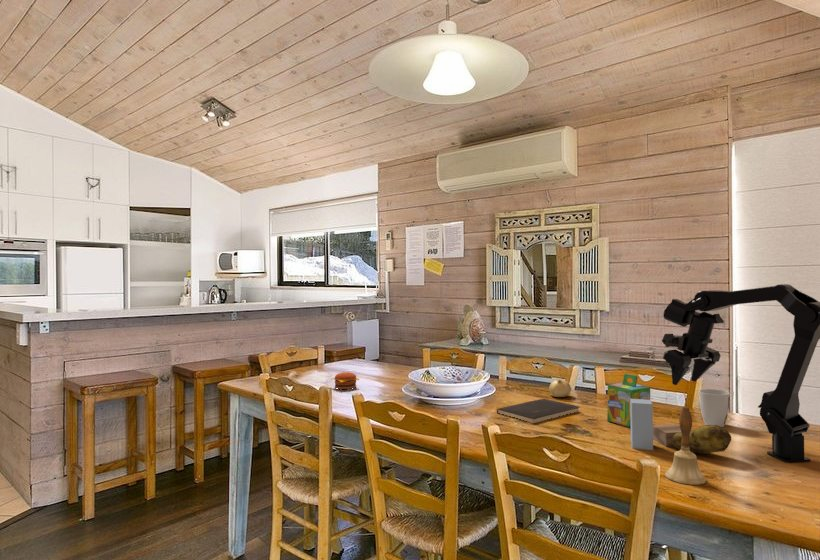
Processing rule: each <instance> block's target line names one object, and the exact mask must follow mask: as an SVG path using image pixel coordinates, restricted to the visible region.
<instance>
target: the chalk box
mask: <svg viewBox="0 0 820 560" xmlns="http://www.w3.org/2000/svg"><path fill="white" fill-rule="evenodd" d="M628 379H631V380H632V382H628ZM637 380H638V375H634V374H629V373H624V374H623V378H622V382H620V383H619V382H618V383H612V384H607V408H606V409H607V410H606V412H607V415H606V416H607V418H606V421H607V422H609V423H614V424H617V425H621V426H623V427H626V428H629V429H631V421H630V399H645V400H651V387H650V386H647V385H643V384H638V383H637V382H638V381H637Z"/></svg>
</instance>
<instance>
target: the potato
mask: <svg viewBox="0 0 820 560" xmlns="http://www.w3.org/2000/svg"><path fill="white" fill-rule="evenodd" d="M689 440H690V447H689V448H690V452H692V453H694V454H701V455H702V454H703V455H704V454H711V453H717V452H718V453H720V452H721V453H722V452H725V450H727V449H728V447H729V445H730V443H731V441H732V436H731V434H730V432H728V431H727V430H726V429H725V428H724V427H720V426H718V425H705V424H704V425H700V426H699V427H696V428H694V429H691V432H690V436H689ZM681 442H682V433H681V432H679V433H676V434H675V435H674V436H673V438H672V444H673V445H674V446H675V448H676V449H677V450H679V451H680V450H681Z"/></svg>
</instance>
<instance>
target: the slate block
mask: <svg viewBox="0 0 820 560" xmlns="http://www.w3.org/2000/svg"><path fill="white" fill-rule="evenodd" d="M651 400H652V399H650V400H645V399H630V421H631V428H630V445H631V448H632V449H633V450H634V449H635V450H647V451H654V440H653V425H654V417H653V416H654V415H653V414H654V413H653V412H654V409H653V408H654V407H653V402H652V401H651Z"/></svg>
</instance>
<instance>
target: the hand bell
mask: <svg viewBox="0 0 820 560" xmlns="http://www.w3.org/2000/svg"><path fill="white" fill-rule="evenodd" d="M678 422H679V423H678V424H679V425H678V426H680V429H681V433H682V442H681V450H680V449H679V450H677V451H675V452H674V454H673V461H672V463H671V466H670V467H669V469H667V470H666V471H665V472H664V473H665V474H664V476H665V477H666V478H667V479H669V480H670V481H673V482H675V483H679V484H685V485H691V486H695V485H697V486H699V485H704V484H706V483H707V478H706V476H705V475H704V474H703V473H702V471H701V470H700V468H699V465H698V458H697V455H696V453H694V452H690V448H689V447H690V440H689V436H690V432H691V430H693V429H692V428H693V418H692V413H691V411H690V407H689V406H682V409H681V411H680V414H679V419H678Z"/></svg>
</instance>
